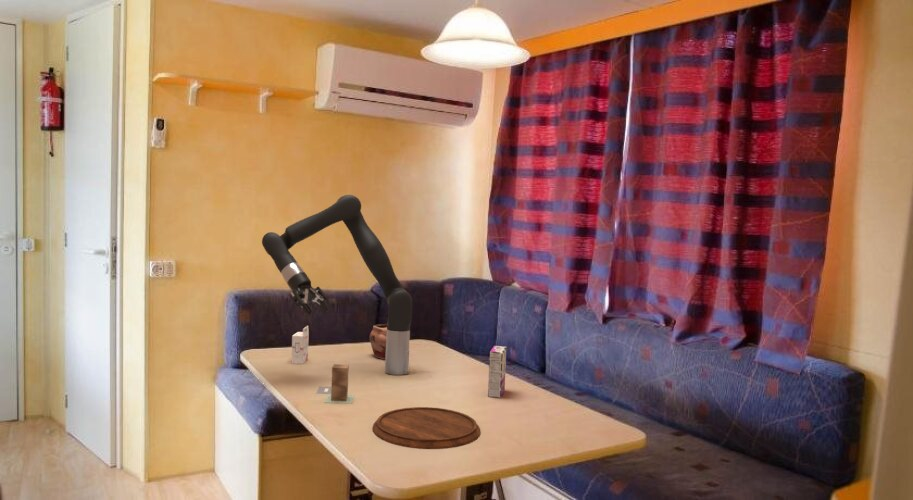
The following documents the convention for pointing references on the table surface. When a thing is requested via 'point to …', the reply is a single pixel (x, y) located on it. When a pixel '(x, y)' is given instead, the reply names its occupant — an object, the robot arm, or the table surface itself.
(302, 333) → the ink cartridge box
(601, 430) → the table surface
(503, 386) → the candy bar box
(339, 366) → the walnut block
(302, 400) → the table surface
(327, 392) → the tile
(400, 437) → the cutting board
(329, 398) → the sage mat
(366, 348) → the table surface
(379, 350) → the decorative planter
